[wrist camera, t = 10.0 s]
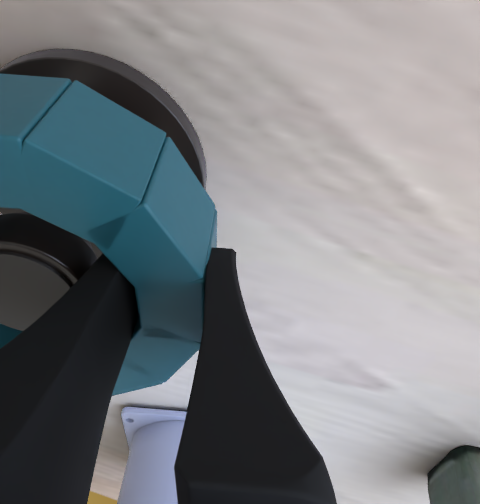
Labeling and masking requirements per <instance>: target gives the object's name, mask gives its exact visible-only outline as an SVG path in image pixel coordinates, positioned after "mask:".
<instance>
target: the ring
mask: <svg viewBox="0 0 480 504" xmlns="http://www.w3.org/2000/svg"><path fill="white" fill-rule="evenodd" d="M165 137H166V132H164V131H163V130H161V129H159V128H157V127H156V126H154V125H152V124H151V123H149V122H147V121H145V120H144V119H142V118H140V117H139V116H137V115H135V114H133V113H132V112H130V111H128V110H127V109H125V108H123V107H122V106H120V105H118V104H116V103H115V102H113V101H111V100H110V99H108V98H106V97H104V96H103V95H101V94H99V93H98V92H96V91H94V90H92V89H91V88H89V87H87V86H86V85H84V84H82V83H80V82H79V81H77V80H75V81H73V83H72V82H71V80H70V79H67V78H54V77H40V76H27V75H13V74H0V208H12V209H22V210H24V211H26V212H28V213H30V214H32V215H34V216H37V217H39V218H41V219H43V220H45V221H47V222H49V223H51V224H54V225H56V226H58V227H60V228H62V229H64V230H66V231H68V232H71V233H73V234H75V235H77V236H79V237H81V238H83V239H85V240H88V241H90V242H92V243H94V244H95V245H96V246H97V247H98V248H99V250H100V251H101V252H102V253H103V254H104V255H105V256H106V257H107V258H108V259H109V260H110V261H111V262H112V264H113V265H114V266H115V267H116V268H117V269H118V270H119V271H120V272H121V273H122V274H123V275H124V276H125V278H126V279H127V280H128V281H129V282H130V283H131V284H132V285H133V286H134V288H135V294H136V301H137V307H138V314H139V315H138V319H137V322H136V325H135V328H134V331H133V334H132V337H131V341H130V344H129V347H128V350H127V353H126V356H125V359H124V362H123V364H122V367H121V370H120V373H119V376H118V379H117V381H116V384H115V387H114V390H113V393H112V396H114V395H118V394H122V393H126V392H130V391H134V390H138V389H142V388H147V387H151V386H155V385H159V384H162V383H163V382H166V381H167V380H168V379H169V378H170V377H171V376H172V375H173V374H174V373H175V372H176V371H177V370H178V369H179V368H180V367H181V366H182V365H184V364H185V363H186V362H187V361H188V360H189V359H190V358H191V357H192V356H193V355H194V354H195V353H196V352H197V351H198V350H199V349H200V344H201V338H202V332H203V323H204V304H205V283H206V265H207V263H208V260H209V257H210V253H211V249H212V247H213V248H216V240H217V211H216V209H215V204H214V203H213V201H212V200H211V198H210V197H209V195H208V194H207V192H206V191H205V189H204V188H203V186H202V185H201V183H200V182H199V180H198V179H197V177H196V176H195V174H194V173H193V171H192V170H191V168H190V167H189V165H188V164H187V162H186V161H185V159H184V158H183V156H182V155H181V153H180V152H179V150H178V148H177V147H176V145H175V144H174V142H173V141H172V139H171V138H170V137H166V138H165ZM21 332H23V331H20V330H17V329H13V328H11V327H8V326H5V325H3V324H0V348H2V347H3V346H5V345H6V344H7V343H9V342H10V341H11V340H13V339H14V338H15V337H16V336H18V335H19V334H20V333H21Z"/></svg>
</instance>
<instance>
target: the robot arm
mask: <svg viewBox="0 0 480 504" xmlns="http://www.w3.org/2000/svg"><path fill="white" fill-rule="evenodd" d="M138 315H139V314H138V307H137V301H136V294H135V288H134V286H133V285H132V284H131V283H130V282H129V281H128V280H127V279H126V278H125V276H124V275H123V274H122V273H121V272H120V271H119V270H118V269H117V268H116V267H115V266H114V265H113V264H112V262H111V261H110V260H109V259H108V258H107V257H106V256H105V255H104V254H103V253H102V254H101V256H100V257H99V258H98V259H97V260H96V261H95V262H94V263H93V265H92V266H91V267H90V268H89V269H88V270H87V271H86V272H85V273H84V274H83V275H82V277H81V278H80V279H79V280H78V281H77V282H76V283H75V284H74V285H73V286H72V287H71V288H70V289H69V290H68V291H67V292H66V293H65V294H64V295H63V296H62V297H61V298H60V299H59V300H58V301H57V302H56V303H54V304H53V305H52V306H51V307H50V308H49V309H48V310H47V311H46V312H45V313H44V314H43V315H42V316H40V317H39V318H38V319H37V320H36V321H35V322H34V323H32V324H31V325H30V326H29V327H28V328H26V329H25V330H24V331H23V332H21V333H20V334H19V335H18V336H16V337H15V338H14V339H13V340H11V341H10V342H9V343H7V344H6V345H5V346H3V347H2V348H0V504H87V501H88V496H89V491H90V487H91V482H92V477H93V472H94V467H95V463H96V458H97V454H98V449H99V445H100V440H101V436H102V432H103V428H104V423H105V419H106V415H107V411H108V407H109V403H110V400H111V397H112V393H113V390H114V387H115V384H116V381H117V379H118V376H119V373H120V370H121V367H122V364H123V362H124V359H125V356H126V353H127V350H128V347H129V344H130V341H131V337H132V334H133V331H134V328H135V325H136V322H137V319H138ZM121 417H122V421H123V425H124V430H125V434H126V438H127V442H128V446H129V450H130V452H129V457H128V461H127V465H126V469H125V473H124V477H123V481H122V485H121V489H120V494H119V498H118V502H117V504H337V503H336V498H335V494H334V490H333V486H332V483H331V480H330V477H329V474H328V471H327V468H326V465H325V463H324V460H323V457H322V456H321V454H320V453H319V451H318V450H317V448H316V447H315V446H314V444H313V443H312V441H311V440H310V438H309V437H308V435H307V434H306V432H305V431H304V429H303V428H302V426H301V425H300V423H299V422H298V420H297V418H296V417H295V415H294V414H293V412H292V410H291V409H290V407H289V405H288V403H287V402H286V400H285V398H284V396H283V394H282V393H281V391H280V389H279V387H278V385H277V384H276V382H275V380H274V378H273V376H272V374H271V372H270V370H269V368H268V366H267V364H266V361H265V359H264V357H263V355H262V352H261V350H260V348H259V345H258V343H257V340H256V338H255V335H254V333H253V330H252V327H251V324H250V321H249V318H248V315H247V312H246V309H245V305H244V302H243V298H242V295H241V291H240V286H239V281H238V276H237V269H236V252H235V251H234V250H233V249H226V248H213V247H212V249H211V253H210V257H209V260H208V263H207V265H206V283H205V304H204V323H203V332H202V338H201V344H200V349H199V354H198V360H197V365H196V370H195V375H194V380H193V385H192V390H191V394H190V399H189V404H188V408H187V412H185V411H173V410H161V409H150V408H138V407H125V408H123V409H122V413H121Z"/></svg>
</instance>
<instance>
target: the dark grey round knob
mask: <svg viewBox="0 0 480 504" xmlns="http://www.w3.org/2000/svg"><path fill="white" fill-rule="evenodd" d="M0 74H13V75H27V76H40V77H54V78H67V79H70V80H71V82H72V83H73V81H75V80H77V81H79V82H80V83H82V84H84V85H86V86H87V87H89V88H91V89H92V90H94V91H96V92H98V93H99V94H101V95H103V96H104V97H106V98H108V99H110V100H111V101H113V102H115V103H116V104H118V105H120V106H122V107H123V108H125V109H127V110H128V111H130V112H132V113H133V114H135V115H137V116H139V117H140V118H142V119H144V120H145V121H147V122H149V123H151V124H152V125H154V126H156V127H157V128H159V129H161V130H163V131H164V132H166V137H170V138H171V139H172V141H173V142H174V144H175V145H176V147H177V148H178V150H179V152H180V153H181V155H182V156H183V158H184V159H185V161H186V162H187V164H188V165H189V167H190V168H191V170H192V171H193V173H194V174H195V176H196V177H197V179H198V180H199V182H200V183H201V185H202V186H203V188H204V189H206V178H207V174H206V162H205V157H204V153H203V149H202V146H201V143H200V141H199V138H198V135H197V133H196V132H195V130H194V128H193V126H192V124H191V122H190V121H189V119H188V118H187V116H186V115H185V113H184V112H183V111H182V109H181V108H180V107H179V106H178V104H177V103H176V102H175V101H174V100H173V99H172V98H171V97H170V95H169V94H167V93H166V92H165V91H164V90H163V89H162V88H161V87H160V86H158V85H157V84H156V83H155V82H153V81H152V80H151V79H149V78H148V77H146V76H145V75H144V74H142V73H141V72H139V71H137V70H135V69H133V68H132V67H130V66H128V65H126V64H124V63H122V62H119V61H117V60H114V59H112V58H109V57H107V56H103V55H99V54H96V53H92V52H87V51H80V50H73V49H51V50H44V51H37V52H34V53H30V54H27V55H24V56H21V57H19V58H17V59H15V60H13V61H11V62H9V63H8V64H7V65H5V66H4V67H3V68H1V69H0ZM166 137H165V138H166ZM0 212H1V213H2V214H3V215H0V324H3V325H5V326H8V327H11V328H13V329H17V330H20V331H24V330H25V329H26V328H28V327H29V326H30V325H31V324H32V323H34V322H35V321H36V320H37V319H38V318H39V317H40V316H42V315H43V314H44V313H45V312H46V311H47V310H48V309H49V308H50V307H51V306H52V305H53V304H54V303H56V302H57V301H58V300H59V299H60V298H61V297H62V296H63V295H64V294H65V293H66V292H67V291H68V290H69V289H70V288H71V287H72V286H73V285H74V284H75V283H76V282H77V281H78V280H79V279H80V278H81V277H82V275H83V274H84V273H85V272H86V271H87V270H88V269H89V268H90V267H91V266H92V265H93V263H94V262H95V261H96V260H97V259H98V258H99V257H100V256H101V254H102V252H101V251H100V250H99V248H98V247H97V246H96V245H95V244H94V243H92V242H90V241H88V240H85V239H83V238H81V237H79V236H77V235H75V234H73V233H71V232H68V231H66V230H64V229H62V228H60V227H58V226H56V225H54V224H51V223H49V222H47V221H45V220H43V219H41V218H39V217H37V216H34V215H32V214H30V213H28V212H26V211H24V210H22V209H12V208H0Z"/></svg>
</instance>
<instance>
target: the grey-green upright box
mask: <svg viewBox="0 0 480 504" xmlns="http://www.w3.org/2000/svg"><path fill="white" fill-rule="evenodd" d="M428 493H429V499H430V504H480V449H479V448H476V447H472V446H462V447H459V448H456V449H454V450H452V451H451V452H450V453H449V454H448V455H447V456H446V457H445V458H444V459H443V460H442V461H441V462H440V463H439V464H437V465H436V466H435V467H434V468H433V469H432V470H431V471H430V472H429V473H428Z"/></svg>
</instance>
